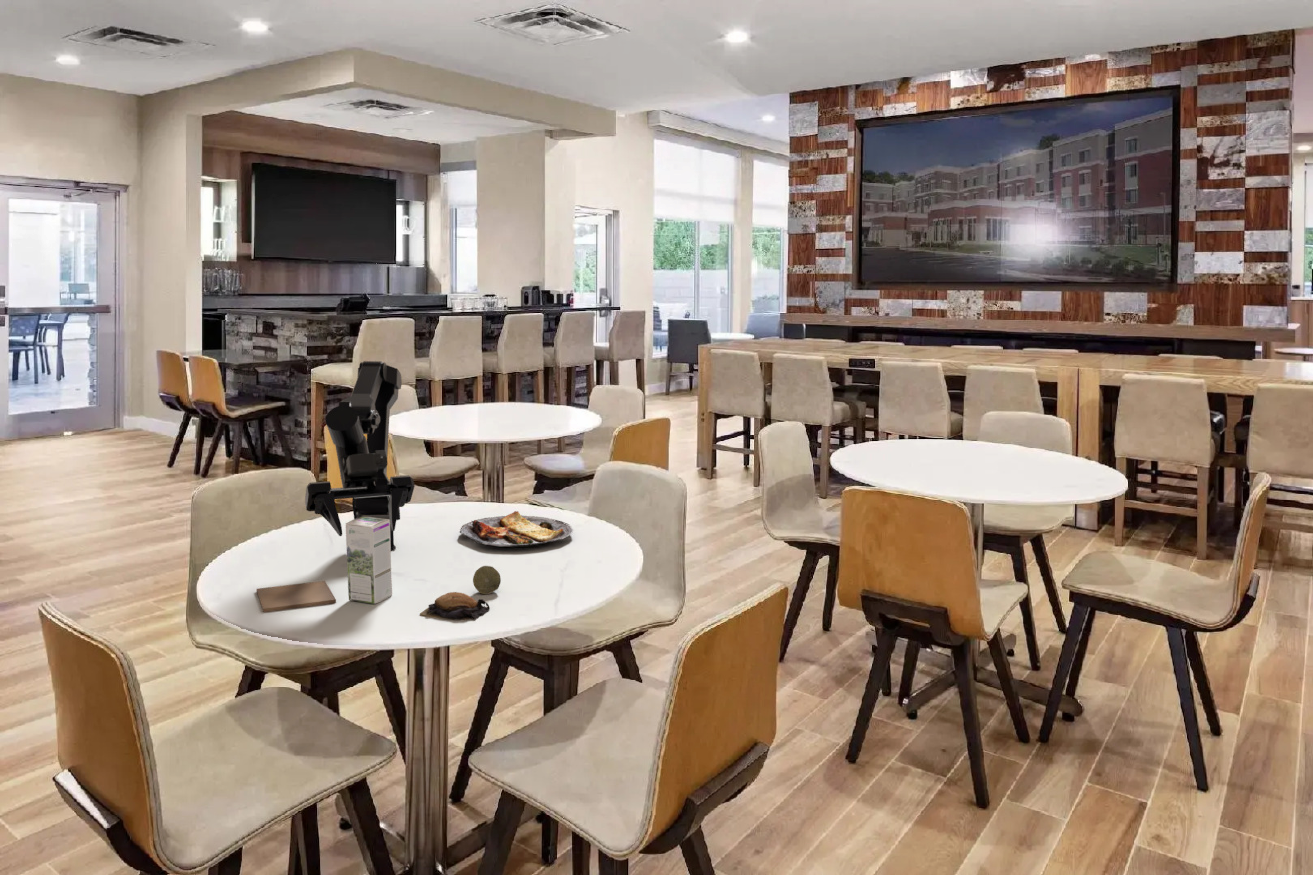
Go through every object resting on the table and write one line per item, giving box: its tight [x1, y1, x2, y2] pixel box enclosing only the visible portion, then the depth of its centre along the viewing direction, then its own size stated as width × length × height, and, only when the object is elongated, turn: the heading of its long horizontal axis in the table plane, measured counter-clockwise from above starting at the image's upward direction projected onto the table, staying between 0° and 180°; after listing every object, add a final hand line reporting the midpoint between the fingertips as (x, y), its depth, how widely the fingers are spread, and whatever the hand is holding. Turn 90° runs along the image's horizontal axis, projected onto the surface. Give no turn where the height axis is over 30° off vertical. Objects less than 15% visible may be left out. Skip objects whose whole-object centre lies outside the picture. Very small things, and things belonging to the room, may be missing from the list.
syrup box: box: [345, 517, 393, 605], centre depth 176 cm, size 6×6×14 cm
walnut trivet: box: [256, 580, 337, 613], centre depth 177 cm, size 12×12×1 cm
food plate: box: [459, 510, 574, 548], centre depth 221 cm, size 25×23×4 cm
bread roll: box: [419, 591, 491, 621], centre depth 171 cm, size 11×8×4 cm
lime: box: [472, 565, 502, 595], centre depth 181 cm, size 4×5×5 cm
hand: (367, 532), depth 176 cm, fingers open, 9 cm apart
